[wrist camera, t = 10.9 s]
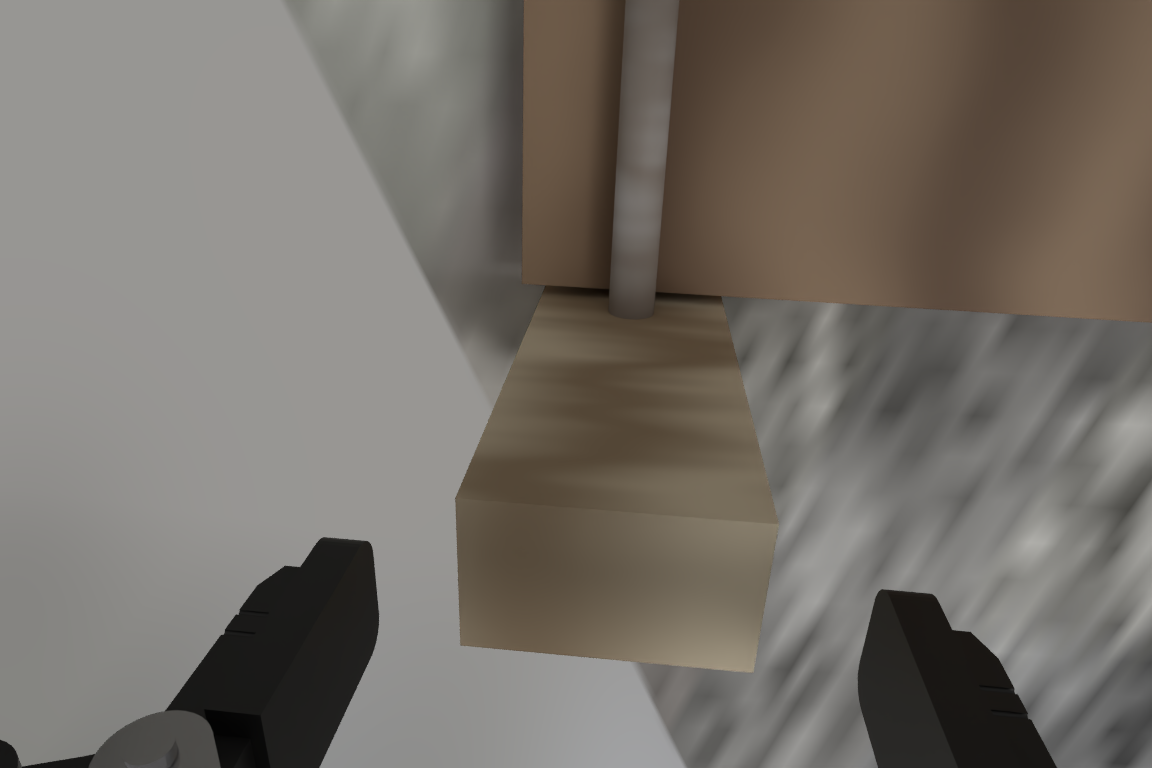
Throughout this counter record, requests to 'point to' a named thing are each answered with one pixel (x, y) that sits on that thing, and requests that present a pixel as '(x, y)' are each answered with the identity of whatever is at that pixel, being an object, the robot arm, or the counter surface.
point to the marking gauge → (622, 446)
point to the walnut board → (860, 152)
